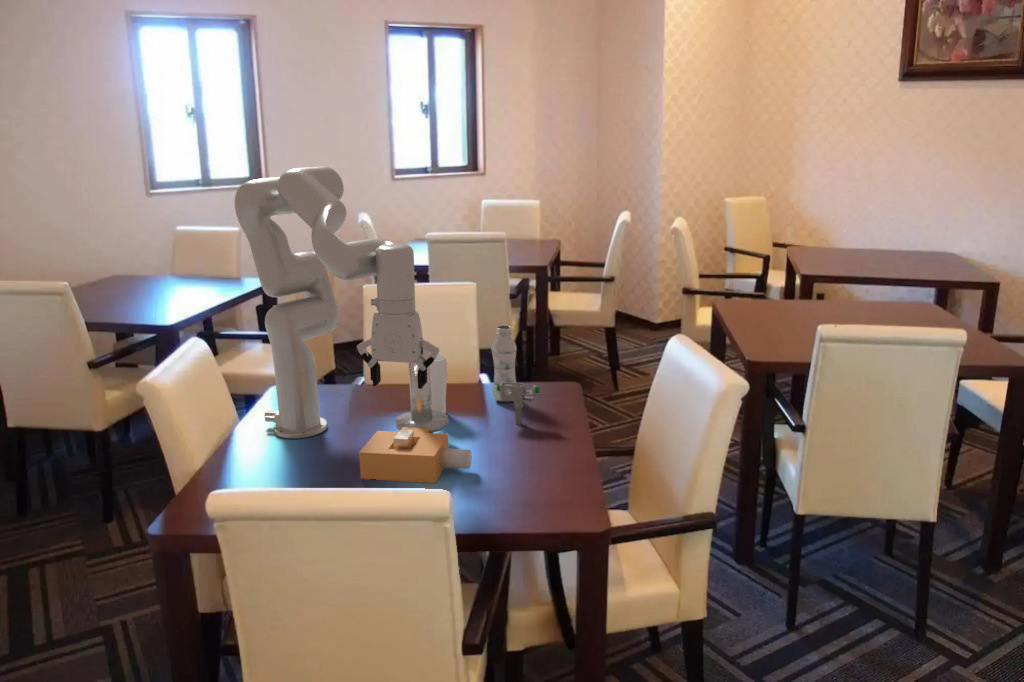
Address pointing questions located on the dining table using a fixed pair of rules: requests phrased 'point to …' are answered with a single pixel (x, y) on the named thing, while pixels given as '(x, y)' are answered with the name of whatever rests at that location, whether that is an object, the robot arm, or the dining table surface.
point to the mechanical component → (517, 396)
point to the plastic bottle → (503, 359)
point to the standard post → (421, 404)
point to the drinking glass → (439, 383)
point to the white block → (404, 440)
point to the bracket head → (410, 457)
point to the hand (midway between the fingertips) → (399, 385)
